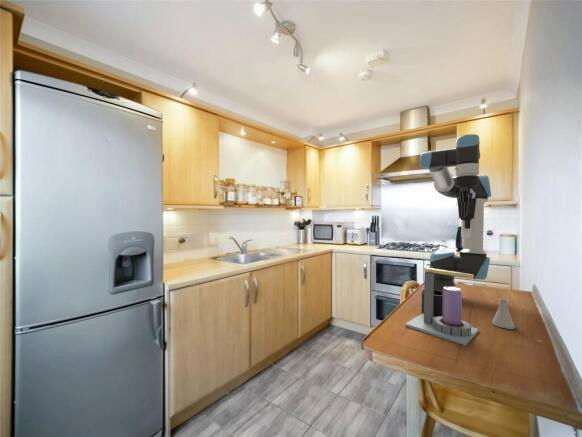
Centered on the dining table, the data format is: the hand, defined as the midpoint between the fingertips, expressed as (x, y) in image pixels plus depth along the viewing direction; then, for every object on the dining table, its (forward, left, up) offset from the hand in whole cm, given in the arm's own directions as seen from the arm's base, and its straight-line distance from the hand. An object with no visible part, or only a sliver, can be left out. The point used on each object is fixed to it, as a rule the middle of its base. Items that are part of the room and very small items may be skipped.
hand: (465, 237), depth 102 cm
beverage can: (+10, -2, -34) cm, 35 cm away
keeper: (+10, -3, -14) cm, 17 cm away
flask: (-12, +10, -35) cm, 38 cm away
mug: (-6, -12, -35) cm, 37 cm away
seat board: (+10, -5, -34) cm, 36 cm away
